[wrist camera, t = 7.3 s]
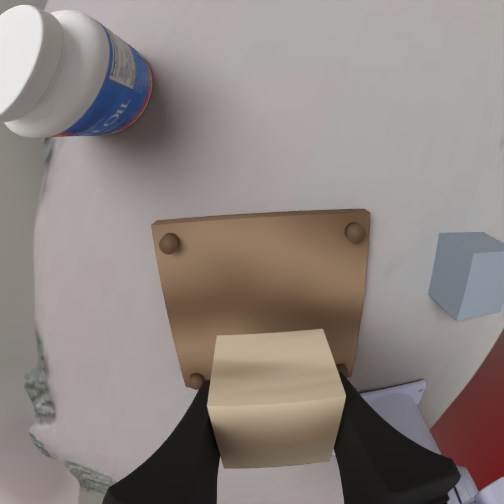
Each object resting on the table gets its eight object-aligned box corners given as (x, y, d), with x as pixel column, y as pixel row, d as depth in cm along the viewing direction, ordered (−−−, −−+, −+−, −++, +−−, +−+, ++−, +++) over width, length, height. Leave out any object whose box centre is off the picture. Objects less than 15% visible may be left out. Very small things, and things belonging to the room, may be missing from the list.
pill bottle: (83, 148, 15) (-41, 171, 6) (68, 71, 13) (-48, 46, 4) (165, 116, 15) (68, 95, 6) (147, 35, 13) (59, -42, 4)
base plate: (347, 368, 21) (353, 383, 19) (188, 378, 21) (184, 393, 19) (364, 208, 17) (375, 215, 15) (156, 220, 17) (147, 229, 15)
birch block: (315, 398, 14) (329, 460, 10) (228, 403, 14) (224, 468, 10) (322, 328, 12) (346, 395, 9) (216, 335, 13) (206, 405, 9)
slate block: (470, 287, 19) (500, 311, 15) (427, 292, 19) (456, 321, 15) (482, 231, 17) (516, 250, 14) (438, 232, 17) (473, 253, 14)
